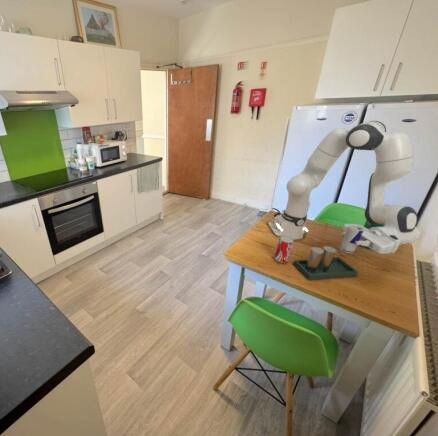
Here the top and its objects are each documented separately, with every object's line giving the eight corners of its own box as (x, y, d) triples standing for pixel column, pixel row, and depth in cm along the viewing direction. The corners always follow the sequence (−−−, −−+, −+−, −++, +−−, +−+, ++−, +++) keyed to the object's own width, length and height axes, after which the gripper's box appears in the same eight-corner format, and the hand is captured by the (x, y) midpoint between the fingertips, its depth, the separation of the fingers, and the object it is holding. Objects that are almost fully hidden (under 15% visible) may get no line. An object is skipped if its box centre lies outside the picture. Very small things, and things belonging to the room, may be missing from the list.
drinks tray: (293, 264, 122) (294, 260, 121) (337, 260, 123) (338, 257, 122) (308, 279, 112) (310, 275, 110) (356, 275, 113) (358, 271, 112)
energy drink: (356, 254, 107) (366, 231, 102) (342, 253, 108) (352, 230, 103) (349, 247, 112) (359, 225, 106) (337, 246, 113) (346, 224, 107)
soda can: (270, 255, 129) (276, 235, 123) (284, 255, 128) (290, 235, 122) (276, 264, 122) (282, 242, 116) (291, 263, 122) (297, 242, 116)
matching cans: (302, 267, 119) (308, 247, 113) (323, 265, 119) (330, 245, 114) (308, 273, 114) (316, 253, 109) (330, 272, 115) (339, 251, 109)
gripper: (361, 219, 115) (334, 221, 115) (404, 242, 97) (373, 245, 97) (356, 230, 118) (330, 232, 118) (397, 255, 100) (366, 257, 100)
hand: (349, 238), depth 107 cm, fingers closed on energy drink, 5 cm apart
